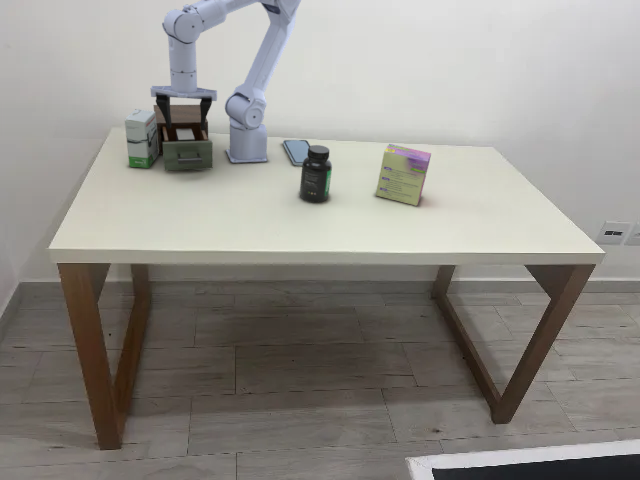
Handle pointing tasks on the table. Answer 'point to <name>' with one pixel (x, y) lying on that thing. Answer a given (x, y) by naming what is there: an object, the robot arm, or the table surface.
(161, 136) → the cabinet
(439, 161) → the table surface
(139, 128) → the ink box
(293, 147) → the smartphone
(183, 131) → the white blue carton
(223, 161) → the table surface
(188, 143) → the drawer
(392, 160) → the box
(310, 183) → the supplement bottle
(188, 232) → the table surface
